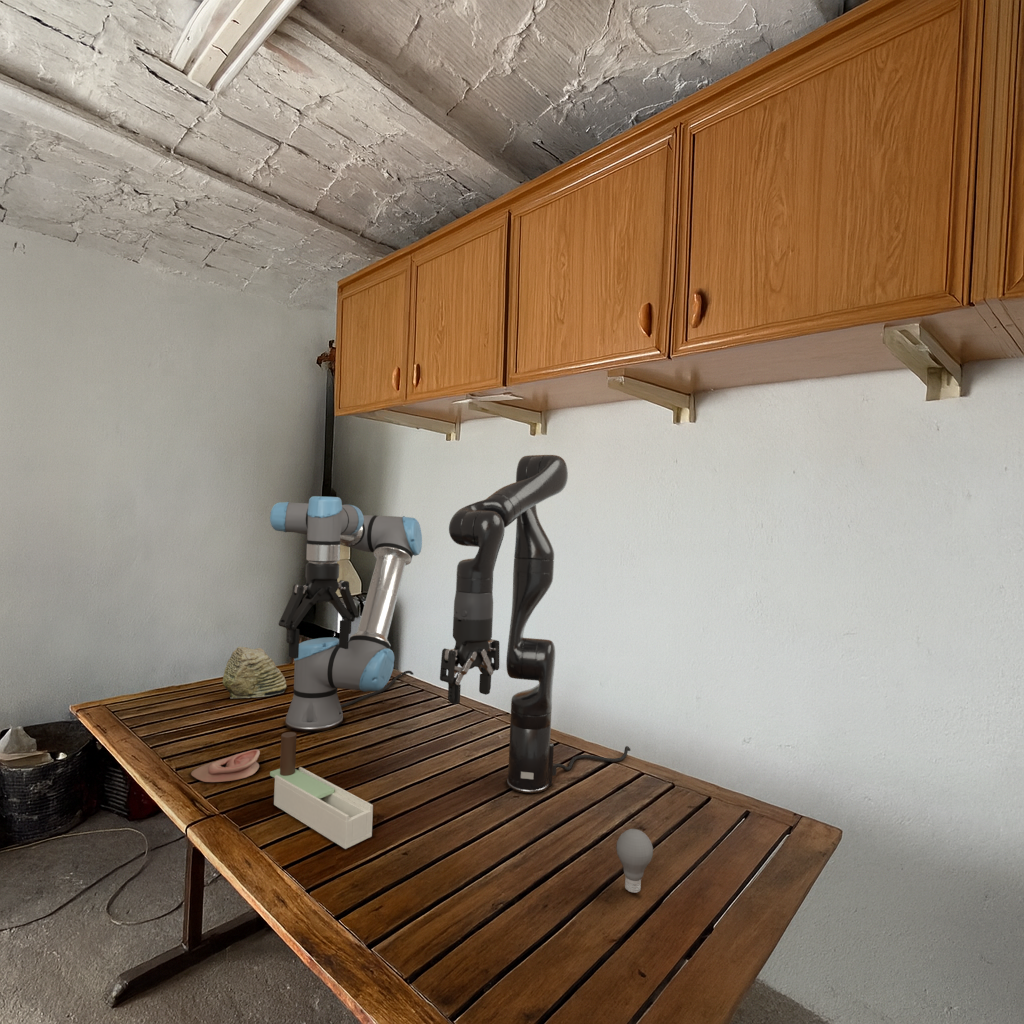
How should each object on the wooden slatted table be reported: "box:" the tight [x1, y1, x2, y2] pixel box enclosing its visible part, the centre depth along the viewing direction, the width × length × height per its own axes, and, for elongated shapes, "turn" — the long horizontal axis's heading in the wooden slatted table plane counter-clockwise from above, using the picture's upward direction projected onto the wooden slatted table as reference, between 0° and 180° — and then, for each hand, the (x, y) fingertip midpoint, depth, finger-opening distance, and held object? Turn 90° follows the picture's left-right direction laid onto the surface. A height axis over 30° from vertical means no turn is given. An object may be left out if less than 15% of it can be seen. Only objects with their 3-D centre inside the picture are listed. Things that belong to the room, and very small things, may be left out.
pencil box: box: [273, 766, 374, 850], centre depth 124 cm, size 24×6×6 cm, turn 51°
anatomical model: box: [190, 748, 261, 783], centre depth 143 cm, size 13×4×12 cm
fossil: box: [222, 646, 288, 699], centre depth 198 cm, size 9×18×15 cm, turn 132°
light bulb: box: [615, 828, 654, 894], centre depth 106 cm, size 6×6×10 cm
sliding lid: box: [269, 731, 335, 799], centre depth 128 cm, size 16×4×9 cm, turn 52°
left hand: (319, 652), depth 149 cm, fingers open, 13 cm apart
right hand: (469, 698), depth 121 cm, fingers open, 8 cm apart
